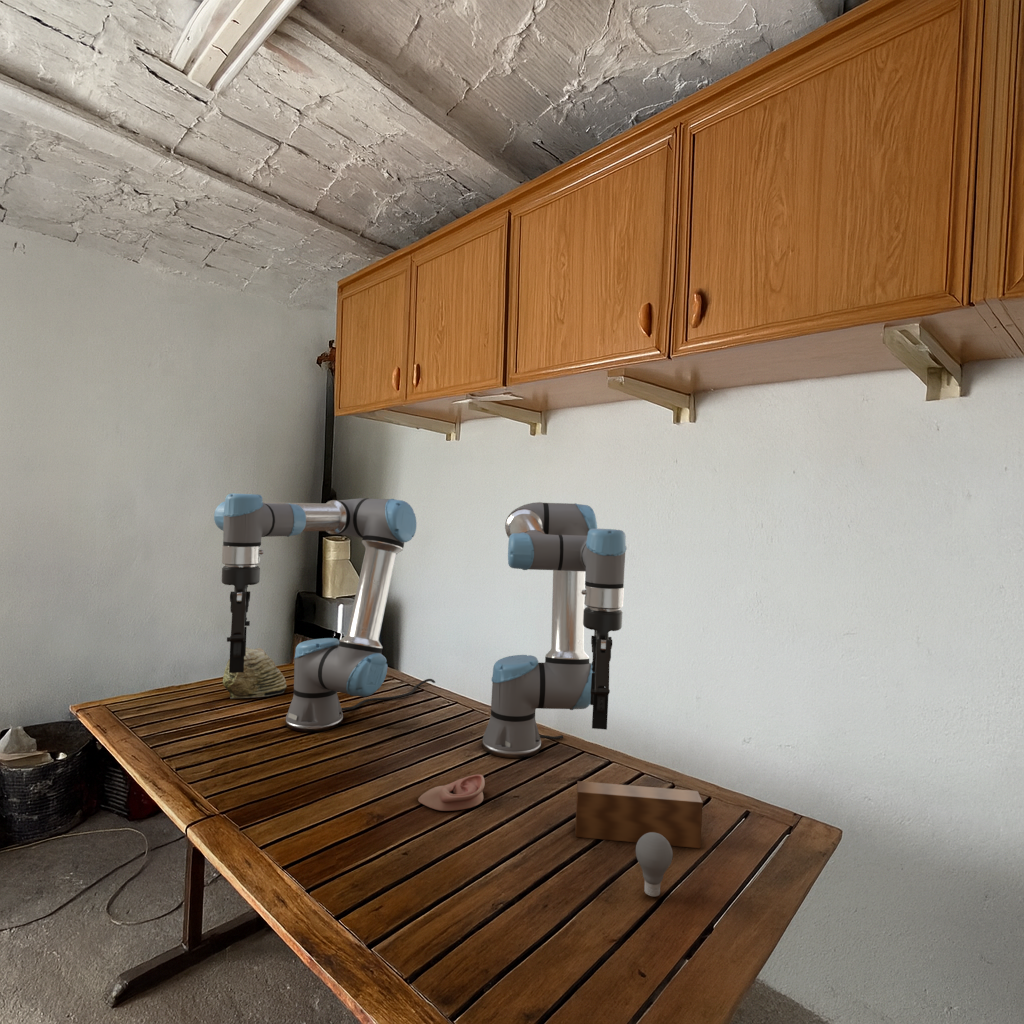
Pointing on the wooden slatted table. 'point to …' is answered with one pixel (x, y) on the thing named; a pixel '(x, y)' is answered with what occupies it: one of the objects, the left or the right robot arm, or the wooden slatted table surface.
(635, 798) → the bar
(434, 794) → the anatomical model
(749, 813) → the wooden slatted table surface
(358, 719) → the wooden slatted table surface
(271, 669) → the fossil
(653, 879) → the light bulb
